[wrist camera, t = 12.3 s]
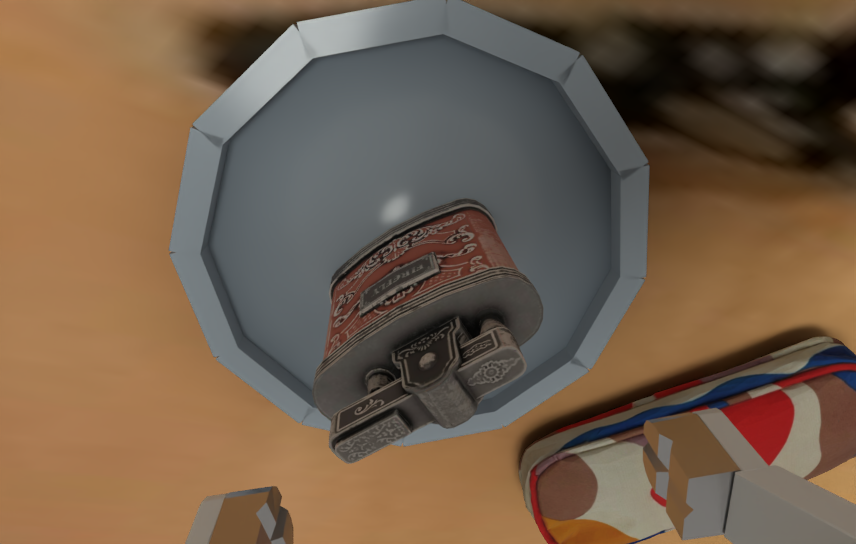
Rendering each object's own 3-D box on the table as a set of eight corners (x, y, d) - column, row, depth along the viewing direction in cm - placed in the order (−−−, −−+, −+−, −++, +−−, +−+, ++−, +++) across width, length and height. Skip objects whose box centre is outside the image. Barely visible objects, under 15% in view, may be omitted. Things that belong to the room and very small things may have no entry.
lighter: (471, 180, 21) (541, 295, 12) (506, 242, 23) (591, 385, 14) (314, 273, 22) (274, 438, 14) (357, 326, 24) (346, 508, 15)
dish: (627, -37, 19) (656, -45, 17) (624, 376, 28) (642, 402, 26) (116, 58, 19) (86, 61, 17) (272, 441, 28) (263, 472, 26)
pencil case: (506, 369, 28) (530, 435, 23) (855, 313, 28) (946, 368, 23) (517, 507, 32) (539, 583, 28) (815, 458, 33) (884, 526, 28)
